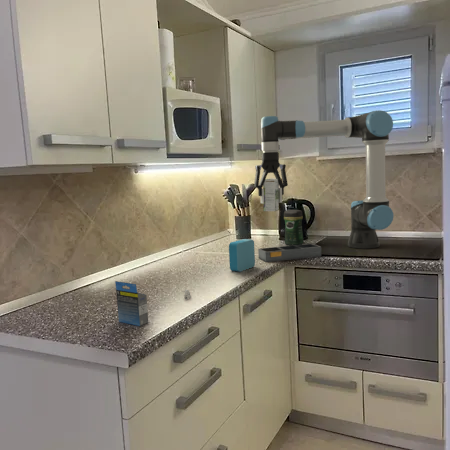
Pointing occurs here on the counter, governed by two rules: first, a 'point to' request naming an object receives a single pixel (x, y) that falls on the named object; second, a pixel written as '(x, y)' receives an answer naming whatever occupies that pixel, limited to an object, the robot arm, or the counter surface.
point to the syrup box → (271, 195)
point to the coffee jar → (293, 227)
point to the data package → (241, 255)
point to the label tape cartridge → (131, 304)
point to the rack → (289, 252)
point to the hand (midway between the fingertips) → (271, 202)
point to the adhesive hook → (187, 294)
